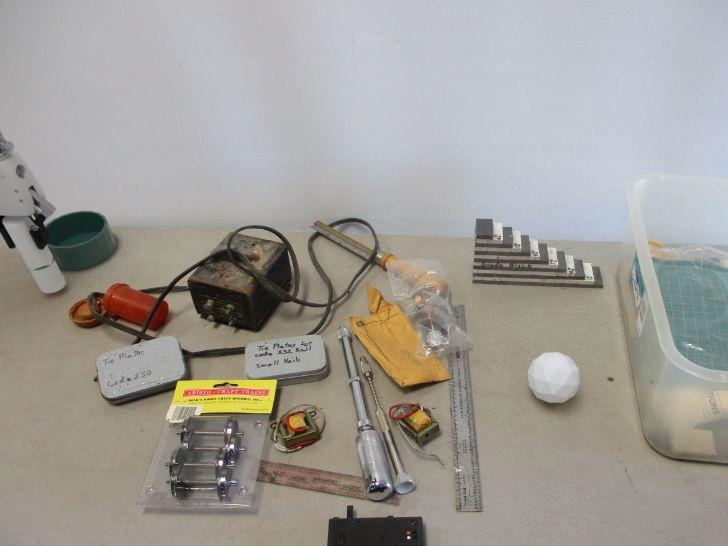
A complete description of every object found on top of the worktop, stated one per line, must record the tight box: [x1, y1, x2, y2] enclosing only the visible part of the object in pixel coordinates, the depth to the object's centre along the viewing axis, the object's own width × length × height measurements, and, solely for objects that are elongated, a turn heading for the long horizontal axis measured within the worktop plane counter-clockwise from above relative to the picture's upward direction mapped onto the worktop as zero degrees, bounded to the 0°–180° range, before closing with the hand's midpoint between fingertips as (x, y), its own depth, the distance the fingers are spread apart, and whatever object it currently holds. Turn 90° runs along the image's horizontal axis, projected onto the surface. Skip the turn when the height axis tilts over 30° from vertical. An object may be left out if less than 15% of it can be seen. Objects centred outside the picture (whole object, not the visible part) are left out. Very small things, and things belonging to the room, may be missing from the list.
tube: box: [2, 215, 67, 294], centre depth 102 cm, size 4×4×15 cm
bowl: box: [44, 210, 117, 271], centre depth 116 cm, size 12×12×6 cm
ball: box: [526, 351, 581, 404], centre depth 90 cm, size 8×8×8 cm
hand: (30, 243), depth 101 cm, fingers closed on tube, 4 cm apart
